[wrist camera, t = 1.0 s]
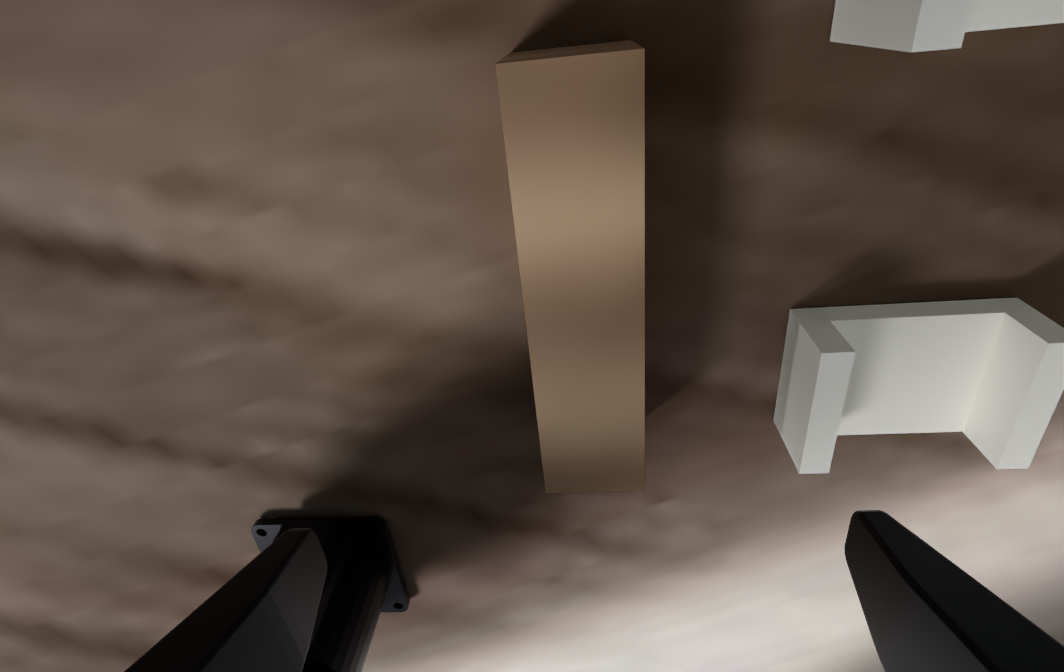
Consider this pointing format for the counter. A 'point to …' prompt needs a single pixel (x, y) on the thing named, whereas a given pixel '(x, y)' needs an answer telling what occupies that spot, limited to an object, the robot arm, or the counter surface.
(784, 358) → the rail brackets
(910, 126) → the counter surface
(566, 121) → the rail
